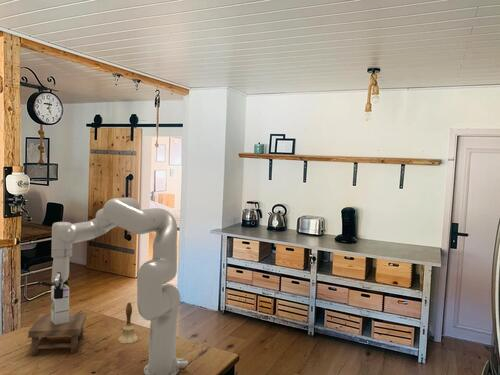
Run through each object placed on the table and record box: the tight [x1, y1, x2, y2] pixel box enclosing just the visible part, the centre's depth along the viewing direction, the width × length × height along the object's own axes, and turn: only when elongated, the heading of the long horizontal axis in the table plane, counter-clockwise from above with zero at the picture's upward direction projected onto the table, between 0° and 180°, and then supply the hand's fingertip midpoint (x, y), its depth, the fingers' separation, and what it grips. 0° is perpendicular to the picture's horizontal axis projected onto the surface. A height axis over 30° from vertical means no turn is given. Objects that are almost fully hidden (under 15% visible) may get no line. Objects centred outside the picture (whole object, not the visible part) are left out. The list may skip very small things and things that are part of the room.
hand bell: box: [117, 302, 139, 345], centre depth 169 cm, size 8×8×16 cm
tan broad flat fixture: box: [27, 312, 87, 357], centre depth 161 cm, size 18×18×10 cm
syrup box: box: [50, 284, 70, 325], centre depth 160 cm, size 6×6×14 cm
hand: (61, 294), depth 160 cm, fingers open, 9 cm apart
